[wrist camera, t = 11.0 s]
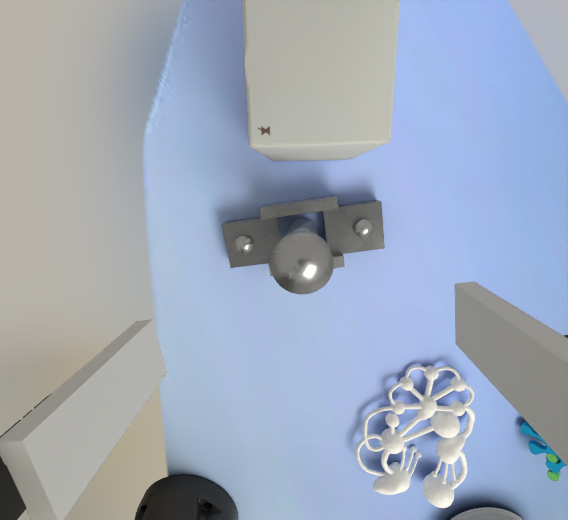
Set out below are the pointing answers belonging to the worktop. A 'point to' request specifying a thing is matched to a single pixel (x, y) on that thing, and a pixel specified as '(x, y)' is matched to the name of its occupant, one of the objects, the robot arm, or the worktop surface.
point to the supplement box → (319, 76)
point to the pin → (302, 259)
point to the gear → (552, 458)
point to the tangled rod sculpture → (441, 422)
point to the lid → (487, 514)
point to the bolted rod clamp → (337, 219)
